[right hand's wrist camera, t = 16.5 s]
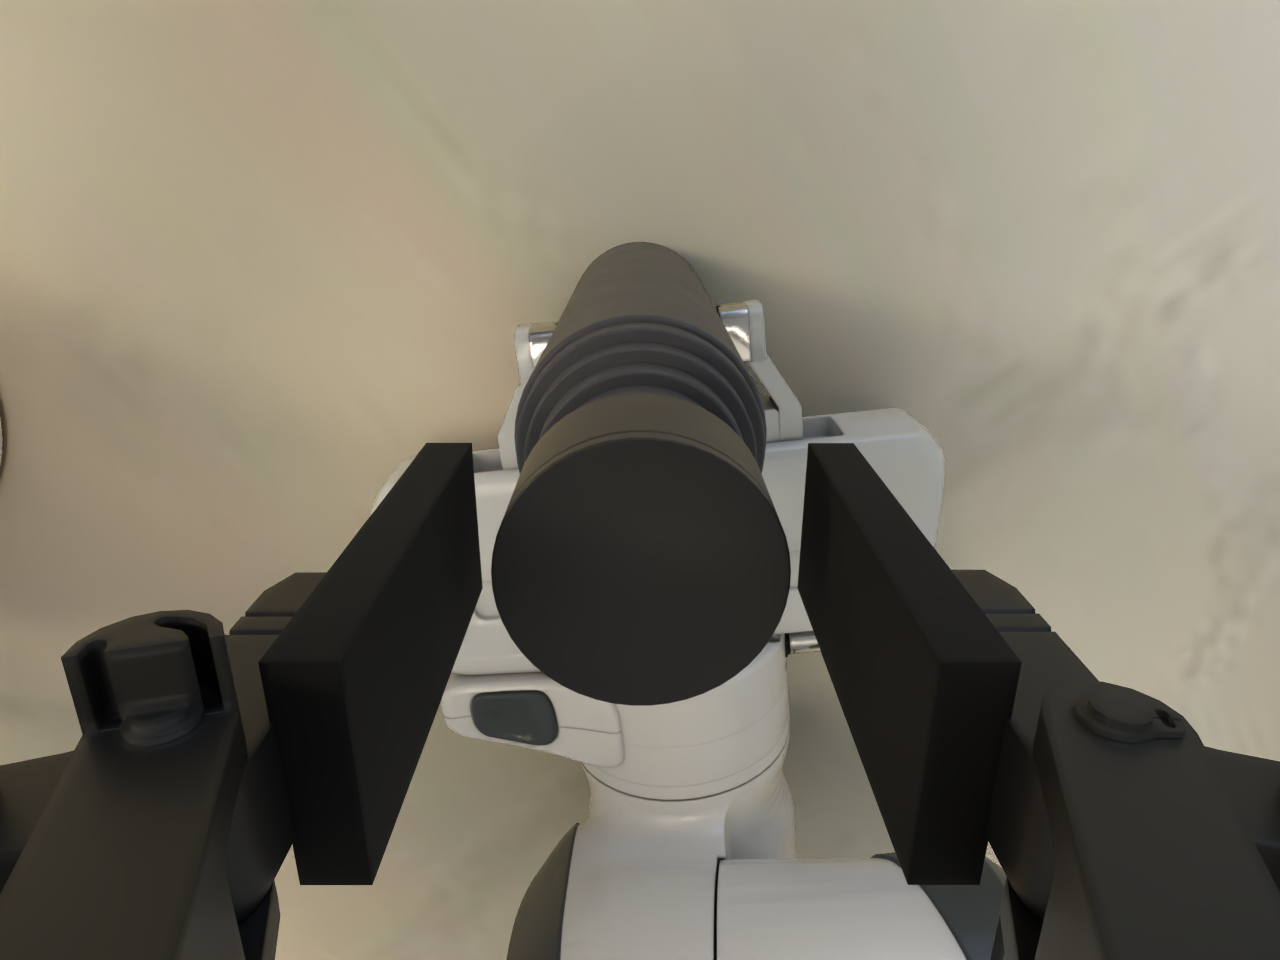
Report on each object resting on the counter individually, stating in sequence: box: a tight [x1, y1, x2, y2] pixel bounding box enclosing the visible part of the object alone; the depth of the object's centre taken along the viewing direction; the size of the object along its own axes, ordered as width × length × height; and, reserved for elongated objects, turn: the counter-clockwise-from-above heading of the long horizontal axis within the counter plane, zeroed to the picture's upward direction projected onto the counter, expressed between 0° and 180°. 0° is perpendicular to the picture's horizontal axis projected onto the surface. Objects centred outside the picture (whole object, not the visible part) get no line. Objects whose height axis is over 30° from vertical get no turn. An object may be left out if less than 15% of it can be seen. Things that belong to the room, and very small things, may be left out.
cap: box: [491, 393, 791, 706], centre depth 13 cm, size 4×4×2 cm
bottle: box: [514, 242, 767, 474], centre depth 23 cm, size 6×6×23 cm
